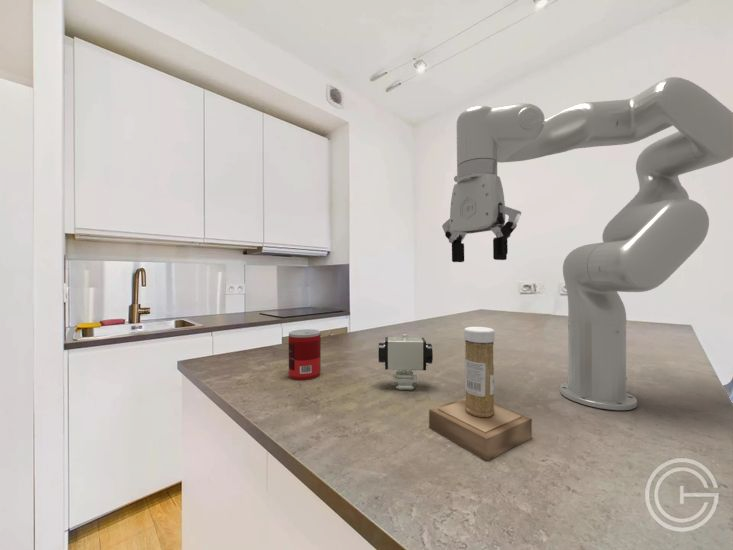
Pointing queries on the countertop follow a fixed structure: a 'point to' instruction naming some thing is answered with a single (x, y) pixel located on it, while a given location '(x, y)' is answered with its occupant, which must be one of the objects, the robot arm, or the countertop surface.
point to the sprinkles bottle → (479, 371)
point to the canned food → (304, 354)
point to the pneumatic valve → (405, 358)
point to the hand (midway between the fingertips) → (477, 260)
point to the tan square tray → (481, 428)
